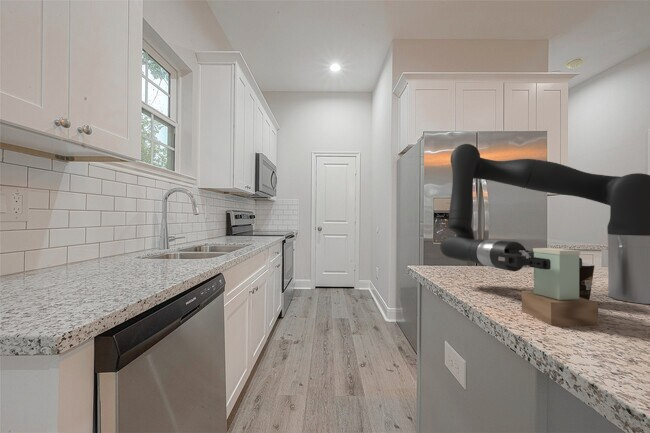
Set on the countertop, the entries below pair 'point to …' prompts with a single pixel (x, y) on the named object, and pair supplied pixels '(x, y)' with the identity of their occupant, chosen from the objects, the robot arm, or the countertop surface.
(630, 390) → the countertop surface
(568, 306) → the walnut box
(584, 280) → the coffee mug
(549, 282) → the tea tin
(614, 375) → the countertop surface
